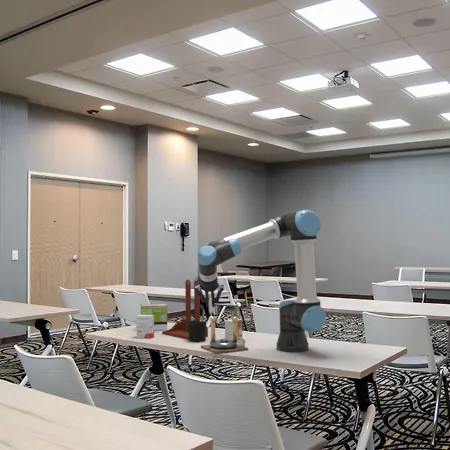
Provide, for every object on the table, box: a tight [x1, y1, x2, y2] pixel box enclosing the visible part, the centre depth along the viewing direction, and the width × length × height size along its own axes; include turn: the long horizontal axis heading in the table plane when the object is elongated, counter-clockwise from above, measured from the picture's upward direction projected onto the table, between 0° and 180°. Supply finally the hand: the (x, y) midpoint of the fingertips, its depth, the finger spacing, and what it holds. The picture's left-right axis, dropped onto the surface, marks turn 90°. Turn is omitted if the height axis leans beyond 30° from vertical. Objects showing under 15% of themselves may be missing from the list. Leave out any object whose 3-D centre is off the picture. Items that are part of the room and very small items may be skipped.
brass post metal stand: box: [209, 316, 239, 349], centre depth 256 cm, size 13×13×14 cm
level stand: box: [200, 336, 249, 355], centre depth 255 cm, size 17×17×6 cm
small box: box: [224, 318, 243, 342], centre depth 278 cm, size 8×6×10 cm
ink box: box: [135, 314, 155, 339], centre depth 289 cm, size 9×5×12 cm, turn 79°
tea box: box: [140, 303, 168, 332], centre depth 314 cm, size 15×10×15 cm
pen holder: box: [188, 319, 207, 343], centre depth 278 cm, size 9×9×10 cm
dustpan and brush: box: [161, 279, 209, 341], centre depth 294 cm, size 24×13×30 cm, turn 41°
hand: (211, 310), depth 246 cm, fingers closed
